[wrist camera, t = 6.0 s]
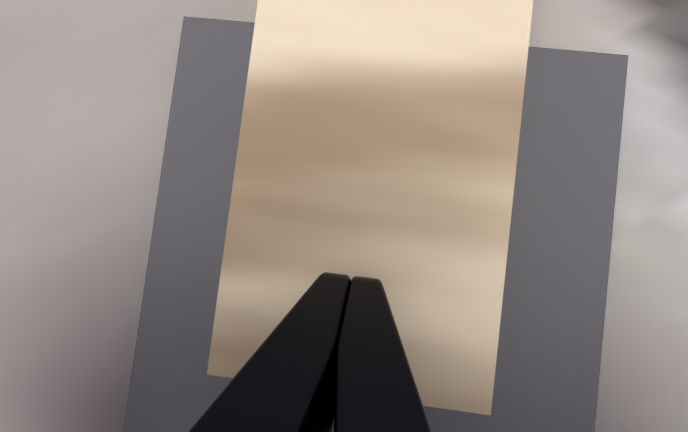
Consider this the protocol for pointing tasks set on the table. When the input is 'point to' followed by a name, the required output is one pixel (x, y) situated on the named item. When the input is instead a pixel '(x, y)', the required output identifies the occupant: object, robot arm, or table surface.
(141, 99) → the table surface
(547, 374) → the rubber mat
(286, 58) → the maple block
